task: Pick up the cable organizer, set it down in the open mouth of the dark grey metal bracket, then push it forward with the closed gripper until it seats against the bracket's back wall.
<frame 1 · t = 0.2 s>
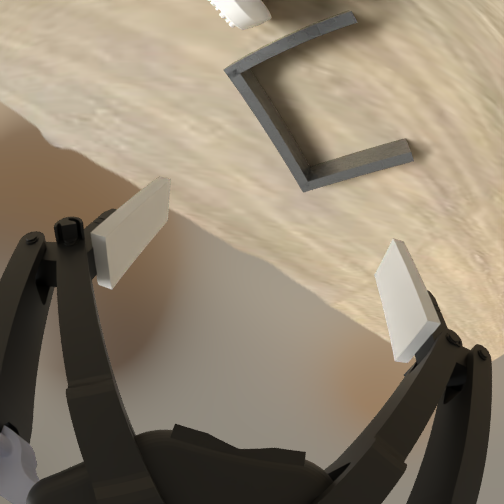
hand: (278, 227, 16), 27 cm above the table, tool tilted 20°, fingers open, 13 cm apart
bracket: (326, 100, 34), on the table
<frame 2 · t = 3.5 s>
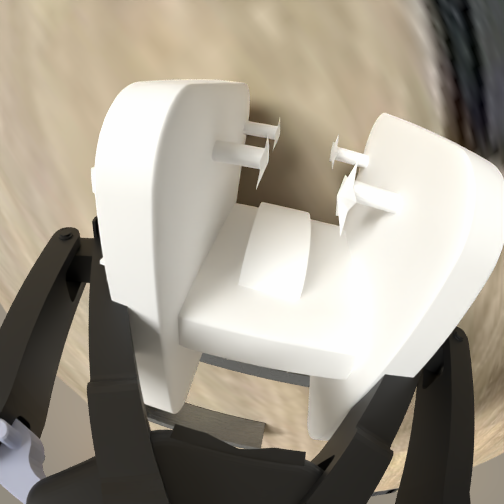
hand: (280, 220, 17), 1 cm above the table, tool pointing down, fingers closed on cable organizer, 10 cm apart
bracket: (209, 377, 30), on the table
cable organizer: (283, 209, 18), on the table, touching gripper
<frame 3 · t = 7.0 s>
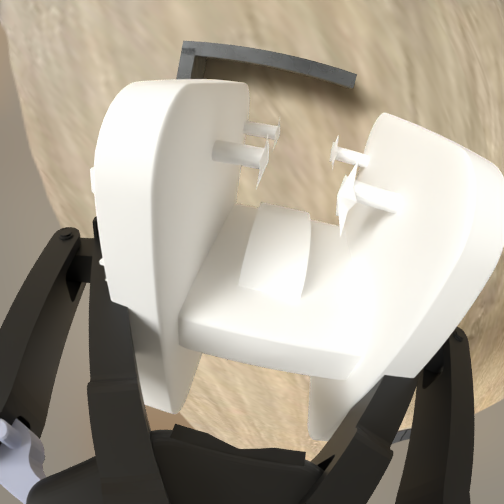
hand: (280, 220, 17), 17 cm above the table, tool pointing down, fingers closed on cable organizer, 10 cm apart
bracket: (252, 142, 31), on the table
cable organizer: (283, 209, 18), point 16 cm above the table, touching gripper
when the fingers open (3 cm above the table, at t = 10.5 s): cable organizer drops 2 cm, on the table.
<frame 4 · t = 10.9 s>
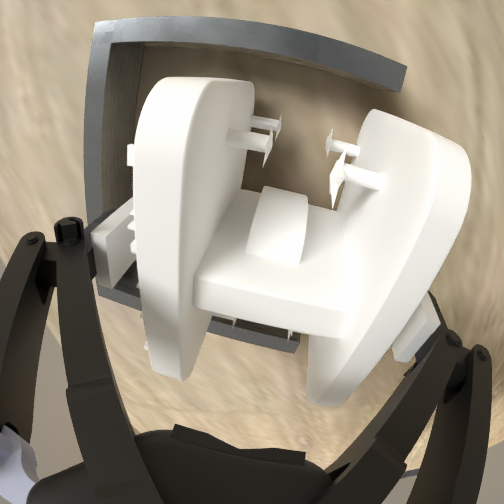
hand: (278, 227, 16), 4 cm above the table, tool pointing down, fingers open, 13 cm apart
bracket: (219, 182, 20), on the table
cable organizer: (283, 196, 20), on the table
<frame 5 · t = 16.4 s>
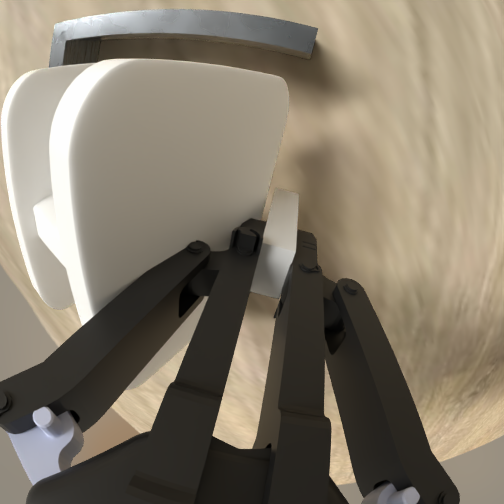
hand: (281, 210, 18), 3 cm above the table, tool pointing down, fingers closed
bracket: (163, 158, 20), on the table
cable organizer: (204, 177, 19), point 2 cm above the table, touching gripper
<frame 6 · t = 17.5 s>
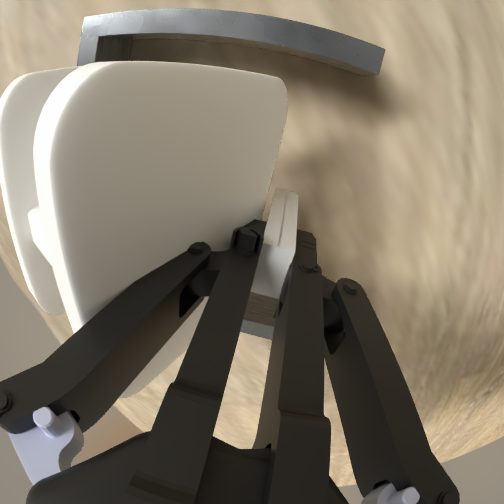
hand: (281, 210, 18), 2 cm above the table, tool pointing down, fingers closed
bracket: (204, 169, 20), on the table
cable organizer: (202, 181, 18), point 2 cm above the table, touching gripper, hand
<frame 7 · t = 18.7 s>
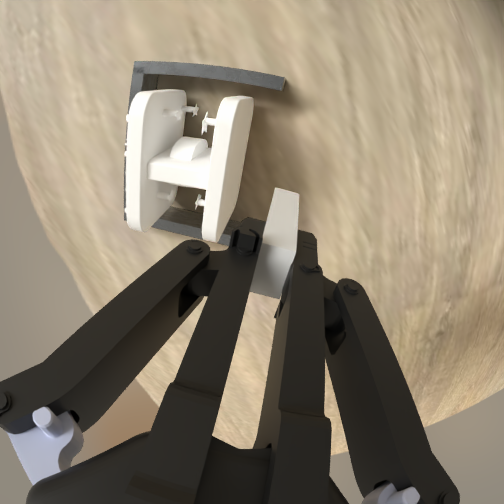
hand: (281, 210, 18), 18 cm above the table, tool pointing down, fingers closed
bracket: (200, 147, 34), on the table
cable organizer: (206, 148, 35), on the table
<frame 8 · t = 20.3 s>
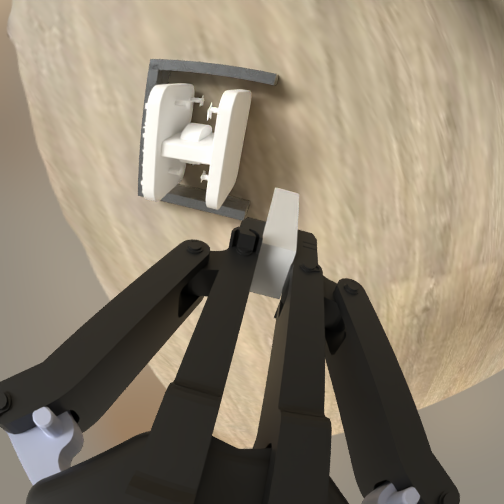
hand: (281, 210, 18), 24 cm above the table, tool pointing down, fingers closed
bracket: (205, 133, 40), on the table
cable organizer: (210, 133, 40), on the table
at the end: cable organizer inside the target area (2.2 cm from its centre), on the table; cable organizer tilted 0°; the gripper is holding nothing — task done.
